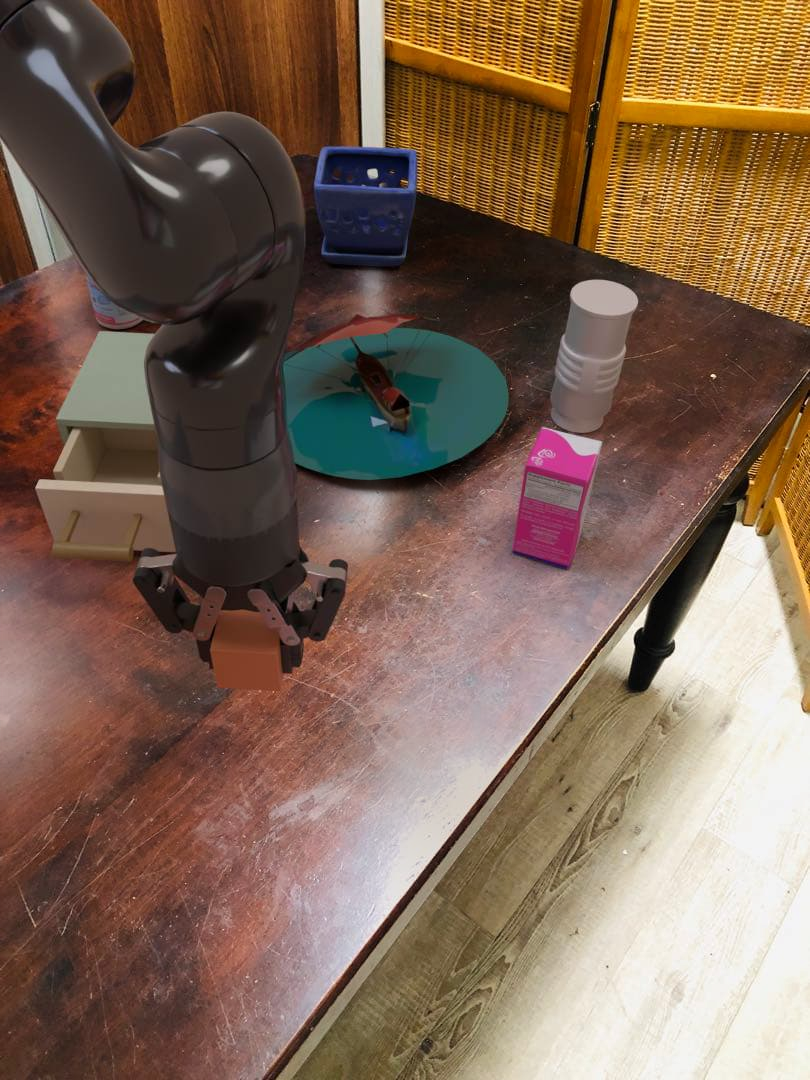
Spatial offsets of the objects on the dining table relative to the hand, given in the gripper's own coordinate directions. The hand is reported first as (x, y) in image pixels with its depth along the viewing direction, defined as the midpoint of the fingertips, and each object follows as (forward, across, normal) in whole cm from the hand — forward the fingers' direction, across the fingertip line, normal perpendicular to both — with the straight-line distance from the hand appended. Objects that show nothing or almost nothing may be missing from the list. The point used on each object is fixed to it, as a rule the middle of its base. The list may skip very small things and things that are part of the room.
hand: (253, 660), depth 63 cm
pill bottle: (+9, -26, +57) cm, 63 cm away
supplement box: (+9, +24, +22) cm, 34 cm away
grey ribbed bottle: (+9, +29, +42) cm, 52 cm away
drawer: (+8, -16, +21) cm, 28 cm away
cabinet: (+9, -16, +33) cm, 38 cm away
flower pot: (+9, +3, +77) cm, 78 cm away
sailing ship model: (+9, +7, +42) cm, 43 cm away
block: (0, 0, 0) cm, 0 cm away
